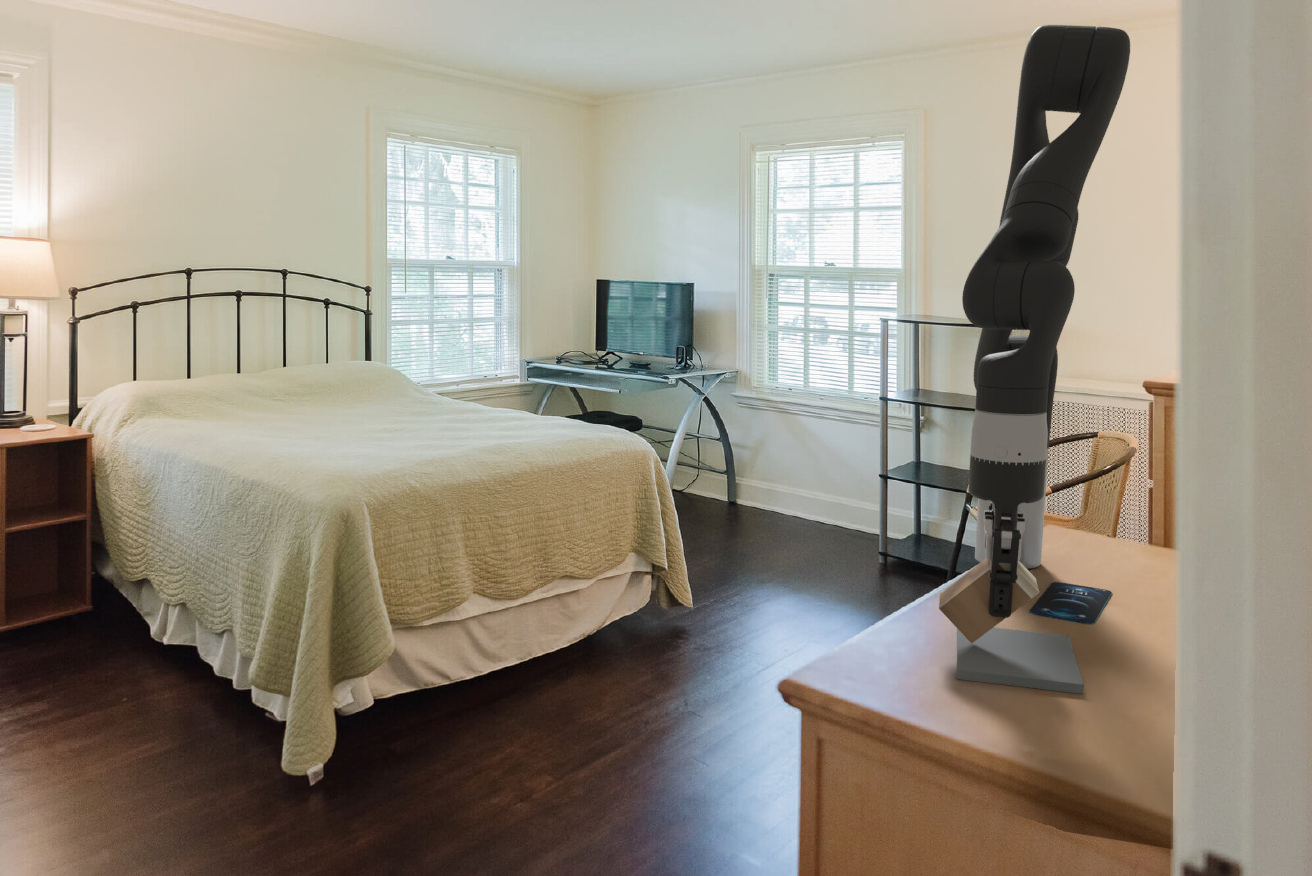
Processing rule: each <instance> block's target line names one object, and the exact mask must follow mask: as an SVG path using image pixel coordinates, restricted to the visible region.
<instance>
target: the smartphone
mask: <svg viewBox="0 0 1312 876" xmlns="http://www.w3.org/2000/svg"><path fill="white" fill-rule="evenodd" d="M1112 595H1113V591H1111V590H1108V589H1105V588H1099V587H1098V588H1097V587H1091V586H1087V585H1086V586H1085V585H1079V584H1073V583H1067V582H1060V581H1054V582H1051V583H1050V584H1049V586H1047V588H1046V589H1045V590H1044V591H1043V592H1042V594H1041V595H1040V596H1039V597H1038V599H1037V600H1036V602H1035V603H1034V604H1033V605H1032V607H1030V609H1029V611H1028V612H1029V614H1030V615H1034V616H1039V617H1044V618H1049V619H1055V620H1059V621H1064V622H1069V623H1074V624H1075V623H1076V624H1082V625H1088V626H1091V625H1095V624H1096V622H1097V621H1098V619H1099V617H1100V616H1101V614H1102V612H1103V610H1104V609H1105V607H1106V606H1107V604H1108V602H1109V601H1110V600H1111V597H1112Z"/></svg>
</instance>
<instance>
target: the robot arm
mask: <svg viewBox="0 0 1312 876" xmlns="http://www.w3.org/2000/svg"><path fill="white" fill-rule="evenodd" d="M1130 54H1131V39H1130V36H1129V34H1128V33H1127V32H1126V31H1125V30H1123V29H1122V28H1116V27H1109V26H1097V27H1096V26H1091V25H1067V24H1065V25H1064V24H1043V25H1040V26H1038V27H1037V28H1036V29H1035V30H1034V31H1033V32H1032V33H1031V35H1030V37H1029V39H1028V42H1027V44H1026V47H1025V51H1024V55H1023V59H1022V65H1021V71H1020V72H1021V73H1020V79H1019V88H1018V95H1017V107H1016V119H1015V129H1014V135H1013V136H1014V137H1013V138H1014V139H1013V147H1012V155H1011V163H1010V168H1009V174H1008V179H1007V184H1006V190H1005V196H1004V201H1003V205H1002V210H1001V215H1000V219H999V226H998V227H999V228H997V230H996V232H995V233H994V235H993V236H992V237H991V240H990V241H989V243H988V244H987V246H986V247H985V249H984V250H983V252H981V254H980V255H979V257H978V258H977V260H976V261H975V262H974V264H973V266H972V268H971V269H970V271H969V272H968V275H967V277H966V279H965V280H966V281H965V283H964V285H963V290H962V297H961V298H962V309H963V312H964V315H965V317H966V318H967V319H968V321H969V322H970V324H972V325H973V326H975V327H978V328H980V329H981V332H980V336H979V340H978V344H977V349H976V353H975V359H974V365H973V385H974V388H975V391H976V392H975V394H976V395H975V410H974V418H973V421H972V428H971V433H970V434H971V435H970V436H971V437H970V454H969V456H970V457H969V472H968V487H967V488H968V493H969V494H970V495H971V496H972V497H974V498H975V499H977V513H976V528H975V529H976V530H975V542H974V543H975V545H974V560H976V561H978V562H979V563H980V562H982V561H983V560H984V559H985V558H987V559H989V560H990V573H989V574H988V578H990V596H989V614H990V615H991V616H993V617H1003V618H1005V619H1008V618H1009V617H1011V615H1012V614H1011V607H1012V591H1013V584H1014V583H1016V580H1017V578H1018V575H1017V563H1018V561H1020V562H1021V563H1022V564H1023V565H1024V567H1025V568H1026V569H1027V570H1029V569H1035V568H1037V567H1039V566H1041V564H1042V553H1043V551H1042V550H1043V538H1044V527H1045V526H1044V524H1045V509H1046V497H1047V496H1046V495H1047V494H1046V493H1047V479H1048V464H1049V463H1048V462H1049V448H1050V439H1051V438H1050V436H1051V428H1052V417H1053V406H1054V398H1055V392H1056V391H1055V390H1056V385H1057V384H1056V383H1057V376H1058V366H1059V365H1058V364H1059V363H1058V362H1059V355H1058V349H1057V347H1058V342H1059V340H1060V337H1061V335H1062V332H1063V329H1064V326H1065V324H1066V322H1067V319H1068V316H1069V314H1070V312H1071V309H1072V305H1073V303H1074V298H1075V282H1074V278H1073V275H1072V273H1071V271H1070V270H1069V268H1068V267H1067V266H1068V265H1069V261H1070V259H1071V255H1072V251H1073V246H1074V242H1075V238H1076V232H1077V228H1078V223H1079V209H1078V206H1079V203H1080V199H1081V195H1082V191H1083V188H1084V186H1085V182H1086V180H1087V178H1088V174H1089V172H1090V170H1091V167H1092V165H1093V163H1094V160H1095V159H1096V157H1097V154H1098V152H1099V149H1100V147H1101V145H1102V143H1103V140H1104V138H1105V135H1106V134H1107V130H1108V128H1109V126H1110V122H1111V120H1112V118H1113V115H1114V113H1115V111H1116V108H1117V105H1118V101H1119V100H1120V97H1121V94H1122V91H1123V87H1124V84H1125V81H1126V76H1127V73H1128V68H1129V63H1130V56H1131V55H1130ZM1047 112H1061V113H1070V114H1072V113H1074V114H1079V115H1078V116H1077V118H1076V119H1074V121H1073V122H1072V123H1071V124H1070V125H1069V126H1068V127H1067V128H1066V129H1065V130H1064V131H1063V132H1062V133H1061V134H1058V136H1057V137H1056V138H1055V139H1053V140H1052V141H1051V142H1050V139H1049V133H1048V128H1047ZM1013 330H1014V331H1015V330H1017V331H1029V333H1028V335H1026V334H1025V335H1021V334H1020V335H1019V334H1018V335H1017V334H1016V335H1015V334H1013V335H1011V334H1012V331H1013ZM997 563H1010V571H1006V570H996V567H997Z"/></svg>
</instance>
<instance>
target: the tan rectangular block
mask: <svg viewBox="0 0 1312 876" xmlns="http://www.w3.org/2000/svg"><path fill="white" fill-rule="evenodd" d="M996 570H1006V571H1010V563H997V567H996ZM989 573H990V560H989V559H987V558H985V559H984V560H983V561H982V562H979V563H977V564H976V565H975V566H974V567H973V568H971V569H970V570H969V571H967V572H966V573H965V574H964V575H962V576H961V577H960V578H959V579H957V580H955V582H954V583H952V584H951V585H950V586H948V587H947V588H946V589H945V590H943V591H942V592H941V593H939V601H938V602H939V603H938V610H939V611H941V613H942V614H943V615H945V617H946V618H947V619H948V620H949V621H950V622H951V623H952V625H954V627H956V630H957V629H958V630H959V631H960V632H961V633H962V634H963V635H964V636H965V637H966V638H967V639H968V640H969V641H970V642H971V644H972V643H973V642H975V641H976V640H977V639H979V638H980V637H981V636H983V635H984V634H985V633H987V632H988V631H989V630H991V629H992V628H996V626H997V625H998V624H1000V623H1001V622H1002V621H1004V620H1005V619H1006V618H1003V617H993V616H991V615H990V614H989V596H990V578H988V574H989ZM1017 575H1018V578H1017V580H1016V583H1014V584H1013V591H1012V607H1011V615H1012V614H1014V612H1016V611H1018V609H1020V608H1021V607H1022V606H1024V605H1026V604H1027V603H1028V602H1029V601H1030V600H1032V599H1033V598H1035V597H1036V596H1037V595H1039V594H1040V590H1039V586H1038V582H1037V578H1036V577H1035V576H1034V575H1033V573H1031V571H1029V569H1026V568H1025V567H1024V565H1023V564H1022V563H1021V562H1020V561H1018V563H1017Z"/></svg>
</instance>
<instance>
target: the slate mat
mask: <svg viewBox="0 0 1312 876" xmlns="http://www.w3.org/2000/svg"><path fill="white" fill-rule="evenodd" d="M1076 659H1077V658H1076V656H1075V652H1074V650H1073V646H1072V643H1071V639H1070V635H1068V634H1061V633H1060V634H1059V633H1049V632H1040V631H1030V630H1021V629H1012V628H1011V629H1010V628H1002V627H993V628H992V629H991V630H989V631H988V632H987V633H985V634H984V635H983V636H981V637H980V638H979V639H977V640H976V641H975V642H973V643H972V644H971V642H970V641H969V640H968V639H967V638H966V637H965V636H964V635H963V634H962V633H961V632H960V631H959V630H958V629H957V628H956V680H965V681H972V682H979V683H981V682H982V683H989V684H997V685H1005V686H1014V687H1020V688H1021V687H1022V688H1029V689H1030V688H1031V689H1038V690H1046V691H1054V692H1055V691H1056V692H1063V693H1072V694H1080V695H1084V682H1083V678H1082V675H1081V670H1080V668H1079V665H1078V661H1077V660H1076Z"/></svg>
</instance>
